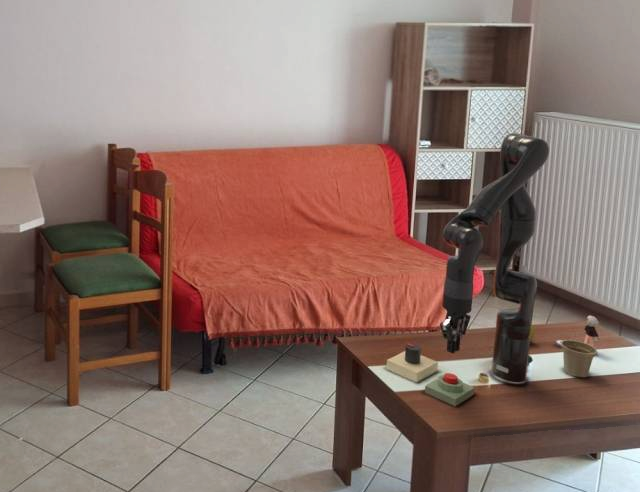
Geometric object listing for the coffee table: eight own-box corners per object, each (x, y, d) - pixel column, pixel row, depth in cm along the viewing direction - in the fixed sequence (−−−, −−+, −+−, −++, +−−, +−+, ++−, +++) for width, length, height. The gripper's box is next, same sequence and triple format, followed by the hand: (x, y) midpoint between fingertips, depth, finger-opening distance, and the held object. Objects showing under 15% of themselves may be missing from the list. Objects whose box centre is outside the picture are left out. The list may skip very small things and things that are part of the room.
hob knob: (423, 361, 211) (424, 347, 210) (414, 365, 208) (415, 350, 208) (410, 356, 215) (411, 341, 214) (401, 359, 212) (402, 344, 211)
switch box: (443, 381, 205) (445, 368, 205) (474, 394, 198) (475, 381, 198) (424, 392, 199) (425, 379, 198) (455, 406, 192) (456, 393, 191)
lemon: (535, 347, 230) (537, 324, 229) (517, 345, 231) (519, 322, 230) (529, 340, 235) (531, 317, 234) (512, 338, 236) (514, 316, 235)
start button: (447, 377, 201) (447, 371, 200) (459, 382, 198) (460, 376, 198) (441, 381, 198) (441, 375, 198) (453, 386, 196) (453, 380, 195)
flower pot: (596, 373, 213) (599, 346, 212) (591, 384, 206) (594, 356, 205) (561, 362, 219) (564, 337, 218) (555, 372, 212) (557, 346, 211)
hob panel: (407, 358, 219) (407, 349, 219) (437, 371, 212) (438, 361, 211) (386, 369, 212) (386, 359, 212) (416, 382, 204) (417, 372, 204)
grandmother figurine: (574, 347, 230) (578, 311, 229) (585, 347, 230) (589, 311, 229) (591, 358, 223) (595, 321, 221) (602, 358, 223) (607, 321, 221)
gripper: (459, 303, 188) (453, 362, 190) (482, 292, 196) (477, 349, 198) (432, 294, 194) (428, 352, 196) (456, 284, 202) (452, 340, 204)
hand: (453, 350), depth 197 cm, fingers closed
